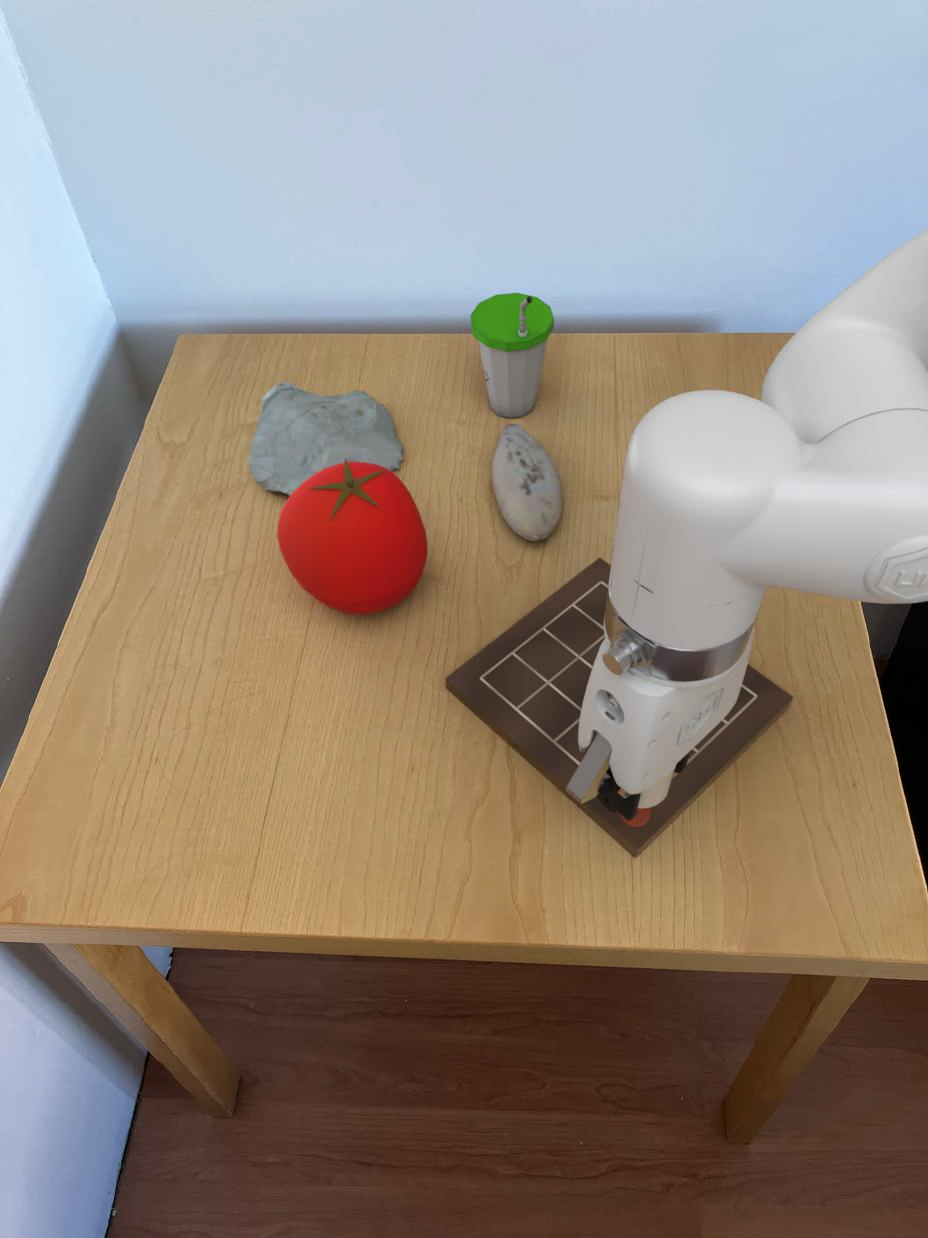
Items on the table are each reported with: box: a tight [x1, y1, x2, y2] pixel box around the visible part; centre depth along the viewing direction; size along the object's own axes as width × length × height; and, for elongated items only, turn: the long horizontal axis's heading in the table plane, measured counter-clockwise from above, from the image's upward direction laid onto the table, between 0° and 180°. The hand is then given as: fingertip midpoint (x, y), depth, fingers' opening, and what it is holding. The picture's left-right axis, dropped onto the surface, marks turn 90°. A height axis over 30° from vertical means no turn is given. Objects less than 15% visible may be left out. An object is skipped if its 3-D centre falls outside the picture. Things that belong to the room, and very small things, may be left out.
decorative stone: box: [491, 423, 564, 542], centre depth 88 cm, size 6×16×3 cm, turn 10°
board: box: [445, 557, 794, 859], centre depth 75 cm, size 20×18×2 cm
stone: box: [247, 381, 404, 497], centre depth 93 cm, size 16×4×15 cm
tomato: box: [276, 458, 428, 615], centre depth 79 cm, size 12×12×13 cm
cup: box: [470, 292, 555, 420], centre depth 92 cm, size 8×8×15 cm
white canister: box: [638, 764, 677, 808], centre depth 63 cm, size 4×4×4 cm
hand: (639, 778), depth 64 cm, fingers closed on white canister, 4 cm apart
